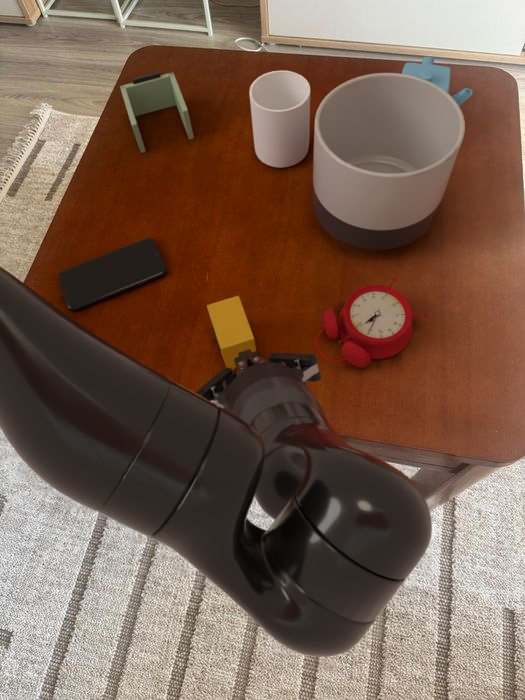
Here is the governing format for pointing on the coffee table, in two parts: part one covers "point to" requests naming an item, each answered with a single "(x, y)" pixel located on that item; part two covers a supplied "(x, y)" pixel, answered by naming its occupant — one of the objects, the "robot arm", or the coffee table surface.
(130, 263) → the smartphone
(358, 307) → the alarm clock
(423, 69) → the teapot
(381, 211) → the planter
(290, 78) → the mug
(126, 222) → the coffee table surface
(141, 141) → the bracket
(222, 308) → the yellow rectangular block
